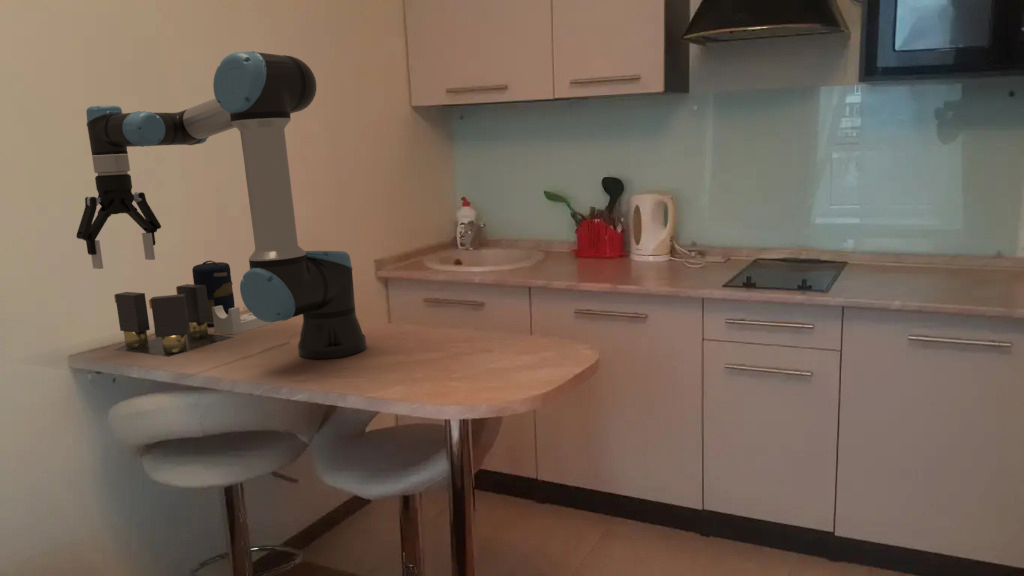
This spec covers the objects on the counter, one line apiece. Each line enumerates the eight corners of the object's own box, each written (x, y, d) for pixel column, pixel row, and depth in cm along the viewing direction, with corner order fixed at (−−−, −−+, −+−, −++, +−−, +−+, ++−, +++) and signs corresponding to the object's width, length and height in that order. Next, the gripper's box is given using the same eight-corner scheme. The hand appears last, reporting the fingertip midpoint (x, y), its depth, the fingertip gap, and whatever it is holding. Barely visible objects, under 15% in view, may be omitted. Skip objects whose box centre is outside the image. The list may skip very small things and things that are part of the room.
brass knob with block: (155, 343, 192) (148, 292, 190) (137, 348, 188) (129, 296, 186) (136, 341, 196) (129, 290, 194) (117, 346, 192) (110, 294, 190)
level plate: (235, 339, 197) (234, 331, 196) (169, 359, 180) (168, 350, 180) (182, 334, 206) (180, 325, 206) (115, 352, 190) (113, 343, 190)
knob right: (215, 334, 199) (209, 284, 197) (198, 338, 195) (192, 288, 193) (195, 332, 203) (189, 283, 201) (179, 336, 199) (172, 286, 196)
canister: (224, 320, 221) (217, 256, 217) (243, 324, 215) (236, 258, 211) (192, 328, 213) (184, 262, 210) (211, 331, 207) (202, 264, 204)
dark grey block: (192, 345, 188) (185, 293, 186) (189, 350, 184) (182, 296, 181) (159, 349, 187) (152, 296, 184) (155, 354, 182) (147, 300, 180)
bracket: (234, 338, 200) (230, 309, 198) (215, 336, 203) (211, 307, 202) (273, 327, 211) (270, 299, 209) (254, 325, 214) (251, 297, 213)
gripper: (149, 171, 197) (160, 255, 201) (50, 177, 176) (64, 271, 180) (169, 170, 193) (180, 256, 197) (70, 176, 172) (84, 273, 176)
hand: (125, 264), depth 189 cm, fingers open, 13 cm apart
